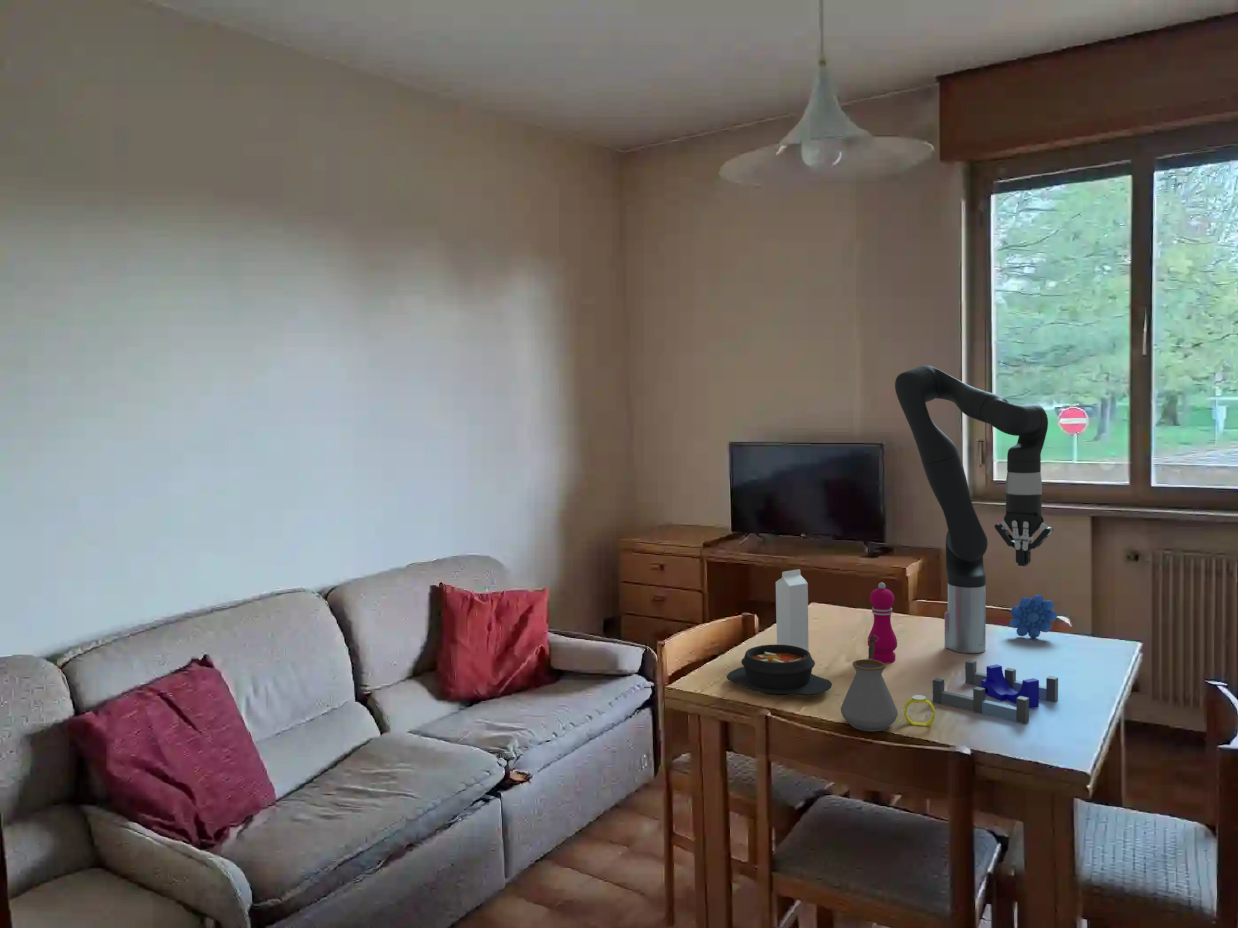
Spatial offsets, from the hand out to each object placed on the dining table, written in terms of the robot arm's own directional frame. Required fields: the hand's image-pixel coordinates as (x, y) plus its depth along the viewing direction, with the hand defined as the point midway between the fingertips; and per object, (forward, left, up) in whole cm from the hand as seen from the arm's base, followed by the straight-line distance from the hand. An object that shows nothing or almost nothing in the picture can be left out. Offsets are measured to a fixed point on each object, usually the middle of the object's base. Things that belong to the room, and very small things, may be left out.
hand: (1023, 565), depth 204 cm
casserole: (-40, -41, -27) cm, 63 cm away
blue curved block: (+3, -15, -27) cm, 31 cm away
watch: (-5, -41, -27) cm, 50 cm away
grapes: (-11, +36, -27) cm, 46 cm away
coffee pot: (-15, -43, -27) cm, 53 cm away
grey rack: (+1, -18, -27) cm, 32 cm away
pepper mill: (-32, -7, -27) cm, 43 cm away
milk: (-53, -16, -27) cm, 62 cm away
